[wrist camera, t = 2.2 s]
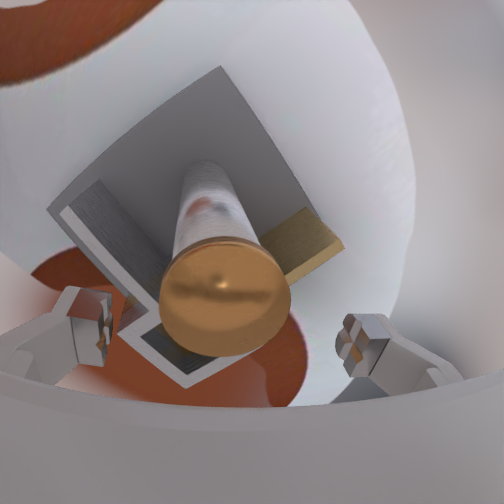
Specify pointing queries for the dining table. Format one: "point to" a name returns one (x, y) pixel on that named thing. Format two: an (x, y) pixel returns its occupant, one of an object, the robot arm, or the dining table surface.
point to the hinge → (155, 263)
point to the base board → (185, 155)
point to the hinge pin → (219, 273)
